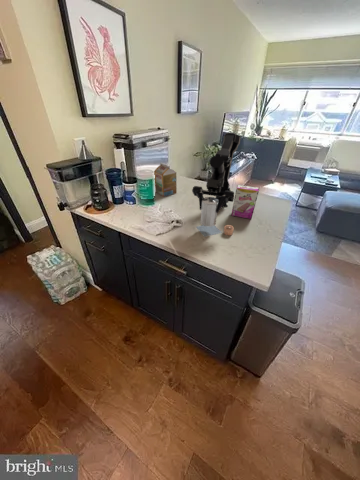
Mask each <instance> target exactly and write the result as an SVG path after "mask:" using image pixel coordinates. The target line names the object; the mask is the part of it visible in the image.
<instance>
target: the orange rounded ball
mask: <svg viewBox="0 0 360 480" xmlns="http://www.w3.org/2000/svg"><path fill="white" fill-rule="evenodd" d="M223 228H224V229H223V234H224V236H232V235H233V234H234V230H235V229H234V226H233V225H231V224H226V225H224V227H223Z"/></svg>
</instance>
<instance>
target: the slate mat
mask: <svg viewBox="0 0 360 480" xmlns="http://www.w3.org/2000/svg"><path fill="white" fill-rule="evenodd" d="M195 228H196V229H197V230H198V231H199V233H200V234H201V235H202V236H203V237H205V238H206V237H210V236H213V235H218V234H222V233H223V232H222V231H221V230H220V229H219V228H218V227H217V226H216V224H215V225H214V226H211V227H208V226H204V225H202V224H201V225H197V226H195Z"/></svg>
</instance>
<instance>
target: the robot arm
mask: <svg viewBox="0 0 360 480" xmlns="http://www.w3.org/2000/svg"><path fill="white" fill-rule="evenodd" d="M240 144H241V136H240V135H238V134H237V133H235V132H226V133H225V134H224V136H223V141H222V146H221V148H220V149H218V150H217V151H216V153H215V155H213V156H212V157H211V158H210V160H209V166H210V171H211V176H210V178H207V180H206V186H205V187H206V189H203V187H202V186H199V185H194V186H193V187H192V189H191V191H192V194H193V195H194V196H195V197H197V199H198V201H199V202H198V204H199V210H200V211H201V208H202V199H203V198H205V197H204V195H205V196H206V195H207V196H211V197H213V196H214V197H215V198H217V199H218V209H217V214H218V213H219V212H220V211H221V209H222V208H226V207H229V206H228V204H227V203H229V202H232V203H234V199H235V192H234V191H232V190H231V188H230V183H229V177H230V171H231V167H232V162H233V157H234V153H236V151H237V150H238V147H239V146H240Z"/></svg>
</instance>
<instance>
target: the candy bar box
mask: <svg viewBox="0 0 360 480" xmlns="http://www.w3.org/2000/svg"><path fill="white" fill-rule="evenodd" d="M259 191H260V188H259V187H257V186H247V185H241V184H238V185H236V189H235V193H234V200H233V206H232V210H231V216H232V217H238V218H241V219H247V220H252V218H253V215H254V211H255V207H256V203H257V199H258V196H259Z"/></svg>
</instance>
